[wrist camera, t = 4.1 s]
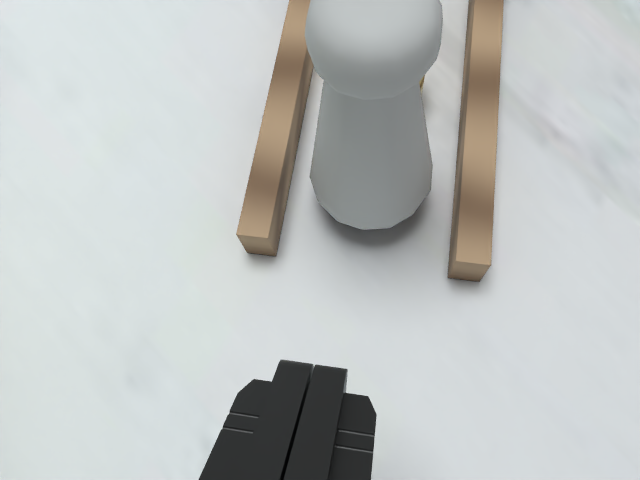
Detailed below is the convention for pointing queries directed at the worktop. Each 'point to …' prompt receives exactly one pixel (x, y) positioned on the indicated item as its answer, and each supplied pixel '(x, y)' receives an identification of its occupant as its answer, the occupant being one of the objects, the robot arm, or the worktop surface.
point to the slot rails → (472, 154)
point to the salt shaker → (372, 107)
